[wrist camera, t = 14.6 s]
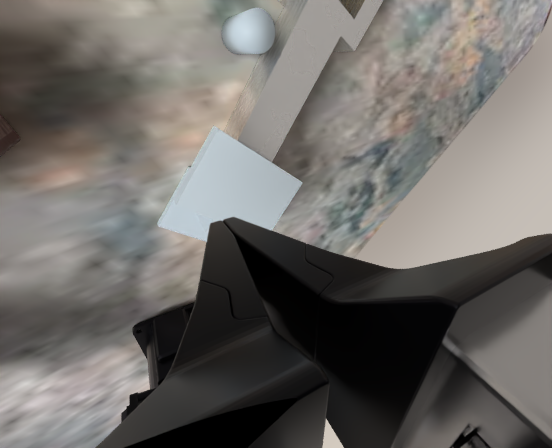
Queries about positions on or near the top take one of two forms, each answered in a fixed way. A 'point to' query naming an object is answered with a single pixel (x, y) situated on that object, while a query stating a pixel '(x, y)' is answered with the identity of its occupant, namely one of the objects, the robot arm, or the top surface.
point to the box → (7, 136)
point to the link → (295, 67)
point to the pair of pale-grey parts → (232, 160)
